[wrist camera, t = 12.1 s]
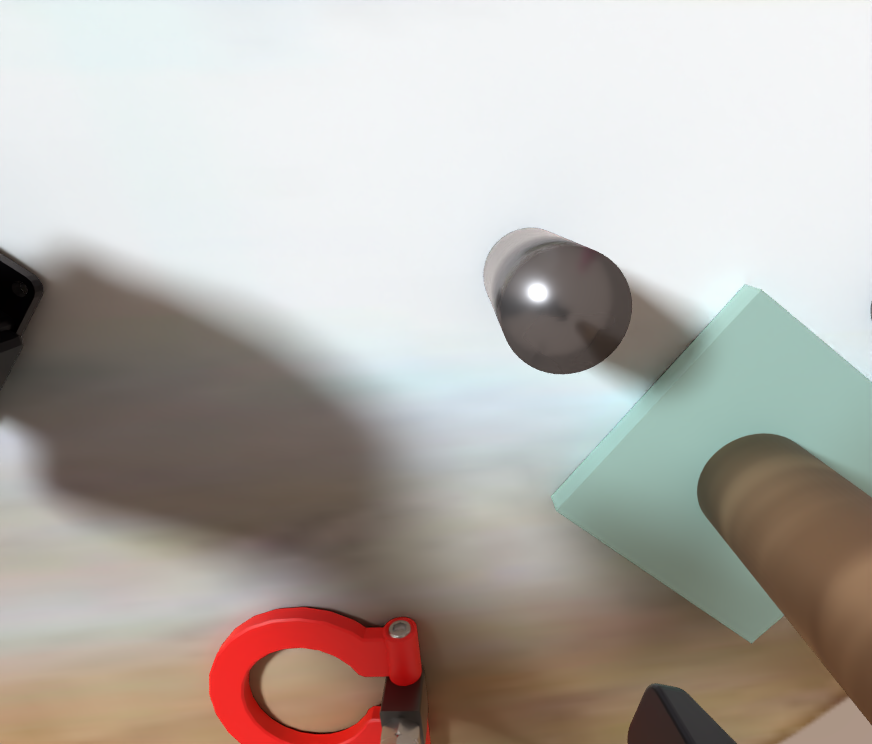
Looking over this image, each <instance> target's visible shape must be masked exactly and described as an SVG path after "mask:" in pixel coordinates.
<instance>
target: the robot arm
mask: <svg viewBox="0 0 872 744" xmlns="http://www.w3.org/2000/svg"><path fill="white" fill-rule="evenodd" d="M21 282H23V283H24V284H25V285H26V287H27V289H28V291H27V294H26V293H25V292H24V291H22V289H21ZM42 294H43V285H42V283H41V281H40V280H39V279H38V278H37V277H36V276H35V275H34V274H32V273H31V272H29V271H27V270H26V269H24V268H23V267H21V266H20V265H18V264H17V263H15V262H13V261H12V260H10V259H9V258H7V257H6V256H4V255H2V254H1V253H0V390H1V388H2V386H3V384H4V382H5V380H6V378H7V376H8V375H9V373H10V371H11V369H12V367H13V365H14V363H15V361H16V359H17V357H18V355H19V353H20V351H21V349H22V347H23V338H22V337H21V336H22V334H23V332H24V330H25V328H26V326H27V324H28V322H29V320H30V318H31V317H32V315H33V313H34V311H35V309H36V307H37V305H38V303H39V301H40V299H41V297H42ZM628 744H737V743H736V742H735V741H734V740H733V739H732V738H731V737H730V736H729V735H728V734H727V733H726V732H725V731H724V730H723V729H722V728H721V727H720V726H719V725H718V724H717V723H716V722H715V721H714V720H713V719H712V718H711V717H710V716H709V715H708V714H707V713H706V712H705V711H704V710H703V709H702V708H701V707H700V706H699V705H698V704H697V703H696V702H695V700H694V699H693V698H692V697H691V696H690V695H689V694H687V693H686V692H685V691H684V690H682V689H680V688H678V687H673V686H667V685H662V684H656V683H655V684H651V685H650V686H648V687H647V689H646V690H645V692H644V695H643V697H642V699H641V702H640V704H639V706H638V708H637V711H636V713H635V715H634V717H633V720H632V722H631V724H630V727H629V731H628Z"/></svg>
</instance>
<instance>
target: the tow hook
mask: <svg viewBox="0 0 872 744" xmlns="http://www.w3.org/2000/svg"><path fill="white" fill-rule="evenodd" d="M289 648H307V649H314V650H320V651H322V652H325V653H328V654H330V655H333V656H336V657H337V658H339V659H340V660H342V661H343V662H345V663H347V664H348V665H350V666H351V667H352V668H353V669H354V670H355V671H356V672H357V673H358V674H359V675H361V676H364V677H385V676H386V681H385V686H384V692H383V697H382V703H381V706H374V707H372V708H370V709H369V710H368V712H367V714H366V715H365V716H364V717H363V718H362V719H361V720H360V721H359V722H358V723H357V724H355V725H353V726H351V727H350V728H348V729H346V730H343V731H340V732H336V733H332V734H310V733H303V732H298V731H296V730H293V729H290V728H287V727H285V726H283V725H281V724H279V723H278V722H276V721H275V720H273V719H271V718H270V717H269V716H268V715H267V714H266V713H265V712H264V711H263V710H262V709H261V708H260V707H259V705H258V704H257V702H256V701H255V699H254V698H253V696H252V692H251V689H250V686H249V671H250V669H251V668H252V667H253V665H254V664H255V663H256V662H257V661H258V660H260V659H261V658H263V657H265V656H266V655H268V654H269V653H272V652H276V651H279V650H282V649H289ZM209 694H210V697H211V700H212V703H213V706H214V710H215V713H216V715H217V716H218V718H219V719H220V721H221V722H222V724H223V725H224V727H225V728H226V729H227V731H228V732H229V733H230V734H231V735H232V736H233V737H234V738H235V739H236V740H237V741H238V742H240V743H241V744H431V742H430V733H429V725H428V708H429V707H428V697H427V689H426V680H425V672H424V668H423V666H422V665H421V658H420V649H419V641H418V633H417V625H416V623H415V622H414V621H413V620H412V619H410V618H407V617H397V618H394V619H392V620H390V621H389V622H387V623H386V625H385V626H384V627H376V628H366V627H364V626H363V625H361V624H360V623H358V622H357V621H355V620H352V619H350V618H347V617H344V616H342V615H339V614H336V613H334V612H331V611H326V610H319V609H313V608H306V607H297V608H282V609H275V610H272V611H269V612H266V613H263V614H259V615H256V616H254V617H252V618H251V619H249V620H247V621H246V622H244V623H243V624H241V625H240V626H238V627H237V628H235V629H234V631H233V632H232V633H231V634H230V636H229V637H228V638H227V639H226V640H225V642H224V643H223V644H222V646H221V648H220V649H219V651H218V653H217V655H216V657H215V660H214V663H213V666H212V668H211V671H210V674H209Z"/></svg>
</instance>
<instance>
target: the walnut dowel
mask: <svg viewBox="0 0 872 744" xmlns="http://www.w3.org/2000/svg"><path fill="white" fill-rule="evenodd" d="M697 498H698V502H699V506H700V508H701V510H702V512H703V514H704V515H705V516H706V518H707V519H708V520H709V522H710V523H711V524H712V525H713V527H714V528H715V529H716V530H717V532H718V533H719V534H720V535H721V537H722V538H723V539H724V540H725V542H726V543H727V544H728V545H729V547H730V548H731V549H732V550H733V552H734V553H735V554H736V555H737V557H738V558H739V559H740V560H741V562H742V563H743V564H744V565H745V567H746V568H747V569H748V570H749V572H750V573H751V574H752V575H753V577H754V578H755V579H756V581H757V582H758V583H759V584H760V586H761V587H762V588H763V589H764V591H765V592H766V593H767V594H768V596H769V597H770V598H771V599H772V601H773V602H774V603H775V604H776V606H777V607H778V608H779V609H780V611H781V612H782V613H783V614H784V616H785V617H786V618H787V619H788V621H789V622H790V623H791V624H792V626H793V627H794V628H795V629H796V631H797V632H798V633H799V634H800V636H801V637H802V638H803V640H804V641H805V642H806V643H807V645H808V646H809V647H810V648H811V650H812V651H813V652H814V653H815V655H816V656H817V657H818V658H819V660H820V661H821V662H822V663H823V665H824V666H825V667H826V668H827V670H828V671H829V672H830V673H831V675H832V676H833V677H834V678H835V680H836V681H837V682H838V683H839V685H840V686H841V687H842V688H843V690H844V691H845V692H846V693H847V695H848V696H849V697H850V698H851V700H852V701H853V702H854V703H855V705H856V706H857V707H858V709H859V710H860V711H861V712H862V714H863V715H864V716H865V717H866V718H867V720H868V721H869V722H870V724H871V725H872V497H871V496H869V495H868V494H866V493H865V492H864V491H862V490H861V489H859V488H858V487H857V486H855V485H854V484H852V483H851V482H850V481H848V480H847V479H845V478H844V477H843V476H841V475H840V474H839V473H837V472H836V471H834V470H833V469H832V468H830V467H829V466H827V465H826V464H825V463H823V462H822V461H820V460H819V459H818V458H816V457H815V456H813V455H812V454H811V453H809V452H808V451H807V450H805V449H804V448H802V447H801V446H800V445H798V444H797V443H795V442H794V441H792V440H790V439H788V438H786V437H783V436H780V435H776V434H767V433H761V434H752V435H747V436H744V437H741V438H738V439H736V440H734V441H732V442H730V443H728V444H726V445H725V446H723V447H722V448H721V449H719V450H718V451H717V452H716V453H715V454H714V455H713V456H712V457H711V458H710V459H709V460H708V462H707V463H706V465H705V466H704V468H703V470H702V472H701V474H700V477H699V480H698V485H697Z"/></svg>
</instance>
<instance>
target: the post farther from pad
mask: <svg viewBox="0 0 872 744" xmlns="http://www.w3.org/2000/svg"><path fill="white" fill-rule="evenodd" d="M483 277H484V285H485V289H486V292H487V294H488V297H489V299H490V301H491V304H492V306H493V309H494V311H495V314H496V316H497V319H498V321H499V323H500V326H501V328H502V331H503V333H504V336H505V338H506V340H507V342H508V344H509V346H510V347H511V349H512V350H513V352H514V353H515V354H516V355H517V356H518V357H519V358H520V359H521V360H523V361H524V362H525V363H527V364H528V365H530V366H531V367H533V368H536V369H538V370H540V371H544V372H547V373H553V374H571V373H576V372H581V371H584V370H587V369H589V368H591V367H593V366H595V365H597V364H598V363H600V362H602V361H603V360H604V359H606V358H607V357H608V356H609V355H610V354H611V353H612V352H613V351H614V350H615V349H616V348H617V346H618V345H619V344H620V342H621V341H622V339H623V337H624V336H625V333H626V331H627V329H628V326H629V322H630V319H631V312H632V300H631V293H630V289H629V286H628V283H627V281H626V279H625V277H624V275H623V273H622V272H621V270H620V269H619V268H618V267H617V266H616V264H614V263H613V262H612V261H611V260H610V259H609V258H607V257H606V256H604V255H603V254H601V253H599V252H597V251H595V250H592V249H590V248H588V247H585V246H583V245H580V244H578V243H575V242H573V241H571V240H568V239H566V238H563V237H561V236H559V235H556V234H554V233H551V232H549V231H546V230H543V229H539V228H523V229H518V230H515V231H513V232H511V233H509V234H507V235H505V236H504V237H502V238H501V239H500V240H499V241H498V242H497V243H496V244H495V245H494V246H493V248H492V249H491V251H490V252H489V254H488V256H487V259H486V262H485V266H484V273H483Z"/></svg>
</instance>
